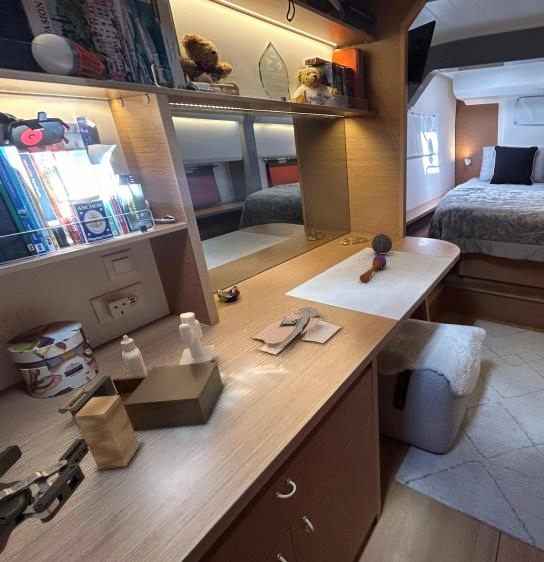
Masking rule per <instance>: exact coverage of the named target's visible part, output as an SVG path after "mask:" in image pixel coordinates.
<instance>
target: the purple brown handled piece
mask: <svg viewBox="0 0 544 562" xmlns="http://www.w3.org/2000/svg"><path fill="white" fill-rule="evenodd" d="M387 264H388V263H387V258H386V257H385V256H384V255H381V254H377V255H376V256H374V258H373V260H372V264H371V266H372V267H371V268H369V269H368V270H367V271H365V272H364V273H362V274H361V275H360V276H359V280H360V282H361V283H367V282H368V280H369V279H370V277H371V276H372V274H373V273H374V272H375V270H376V269H377V270H378V271H379V270H382V269H384V268H385V267H386V266H387ZM384 266H385V267H384ZM381 267H383V268H381Z"/></svg>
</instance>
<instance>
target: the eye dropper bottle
mask: <svg viewBox="0 0 544 562" xmlns="http://www.w3.org/2000/svg"><path fill="white" fill-rule="evenodd" d="M122 338H123V339H122V340H121V342H120V346H121V349H122V351H121V356H122V360H123V363H124V365H125V368H126V370H127V374H128V377H133V376H146V375H148V374H149V372H148V370H147V367H146V364H145V362H144V358H143V356H142V353H141V350H140V348H138V347H137V346H136V344H135V341H134V339H133V338H130V337H129V336H128V335H127V334H125V335H123V336H122Z"/></svg>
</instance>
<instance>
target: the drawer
mask: <svg viewBox="0 0 544 562" xmlns="http://www.w3.org/2000/svg"><path fill="white" fill-rule="evenodd" d="M146 376H147V375H146ZM146 376H133V377H130V376H125V377H124V376H122V377H114V378H113V379H112V378H111V376H110V375H104V376H103V377H102V378H100V379H99V381H97V382H96V383H95V385H94V386H93V387H91V389H86V388H84V387H80V388H78V390H77V391H76V392H74V393H73V394H72V395H71V396H70V397H69V399H67V400H66V401H65V402H63V404H62V405H61V406H60V407H59V408H58V410H57V412H58V413H59V414H61V415H63V414H66V413H67V412H70V414H71V417H72V418H73V420H74V422H75V424H76V427H77V429H78V430H79V431H80V429H79V426H78V424H77V422H76V420H75V418H74V416H75V415H76V414H77V413H78V412H79V411H80V410H81V409H82V408H83V407H84V406H85V405H86V404H87V403H88V401H89V400H90V399H91V398H92V397H104V396H116V395H120V397H121V400H122V402H123V405H124V404H125V402H126V401H127V400H128V399H129V397H130V396H131V395H132V394H133V392H134V391H135V390H136V389H137V387H138V386H139V385H140V384H141V382H142V381H143V380H144V379H145V377H146ZM124 407H125V406H124ZM125 410H126V409H125ZM127 415H128V414H127ZM128 418H129V417H128Z"/></svg>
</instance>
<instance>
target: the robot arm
mask: <svg viewBox="0 0 544 562" xmlns="http://www.w3.org/2000/svg"><path fill="white" fill-rule="evenodd" d="M89 452H90V450H89V448H88V445H87V443H86V441H85V439H84V437H83V438H76V439H75V440H74V441H73V442H72V444H71V445H70V446H69V447H68V449H66V451H65V452H64V453H63V455H62V456H61V457H59V459H58V462H56V463H54V464H52V465H51V466H49V467H48V468H46V469H44V470H43V471H40V470H38V471H35V472H33V473H32V474H30V475H28V476H27V477H25V478H23V479H21V480H14V481H11V482H0V555H2V554H3V552H4V551H5V549H6V547H7V545H8V542H9V539H10V537H11V535H12V533H13V532H14V530H15V529H16V528H17V527H19V526H20V525H21V524H23V522H25V521H26V520H28V519H39V520H40V522H41V523H42V524H47V523H49V522H51V521H52V520H53V519H54V518H55V517H56V516H57V514H58V513H59V512H60V510H61V509H62V508H63V507H64V505H65V504H66V503H67V502H68V500H69V499H70V498H71V497H72V496H73V494H74V493H75V492H76V491H77V489H78V488H79V486H80V485H81V484H82V483H83V482H84V481H85V479H86V476H85V473H84V471H83V470H82V467H81V466H80V463H81V462H82V461H83V459H84V458H85V457H86V456H87V455H88V453H89ZM22 456H23V452H22V450H21V449H20V447H19V445H17V444H13V445H12V444H11V445H9V446H7V447H6V448H5V449H4V450H2V451H1V452H0V479H2V477H4V476H5V474H7V472H8V471H9V470H10V469H12V467H13V466H14V465H15V464H16V463H17V462H18V461H19V460H20V459H21V458H22ZM56 474H58V476H57V477H54V478H53V479H52V480H50V481H49V482H48V480H49V478H51V477H53V476H54V475H56ZM33 485H37V487H38V488H39V490H38V492H37V493H35V494H34V495H33V491H32V488H31V486H33Z"/></svg>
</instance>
